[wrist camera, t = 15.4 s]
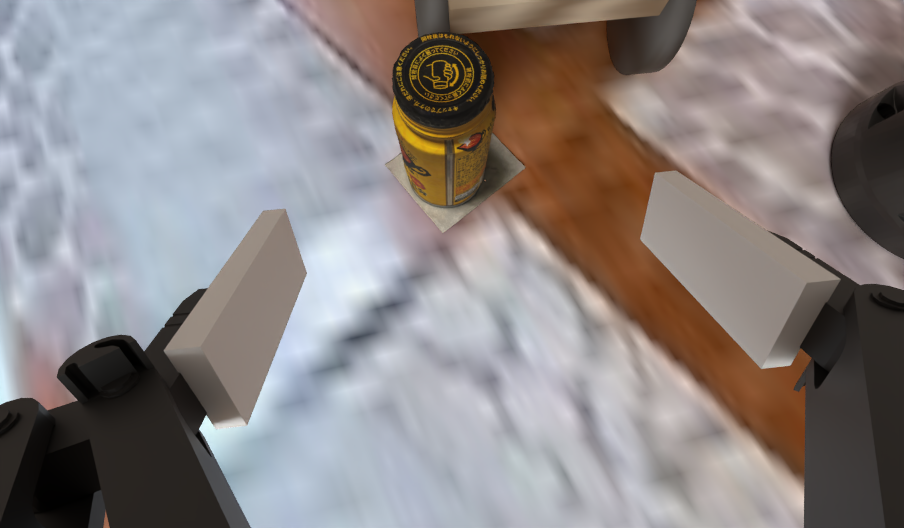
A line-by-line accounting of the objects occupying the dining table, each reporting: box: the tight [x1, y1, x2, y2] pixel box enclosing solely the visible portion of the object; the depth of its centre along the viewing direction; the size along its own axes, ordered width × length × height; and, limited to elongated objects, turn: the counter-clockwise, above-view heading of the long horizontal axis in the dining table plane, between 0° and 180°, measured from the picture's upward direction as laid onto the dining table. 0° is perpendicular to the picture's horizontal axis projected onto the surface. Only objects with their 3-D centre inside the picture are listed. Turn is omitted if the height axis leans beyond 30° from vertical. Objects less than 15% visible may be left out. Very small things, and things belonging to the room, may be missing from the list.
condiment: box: [385, 32, 526, 233], centre depth 26 cm, size 7×8×12 cm
